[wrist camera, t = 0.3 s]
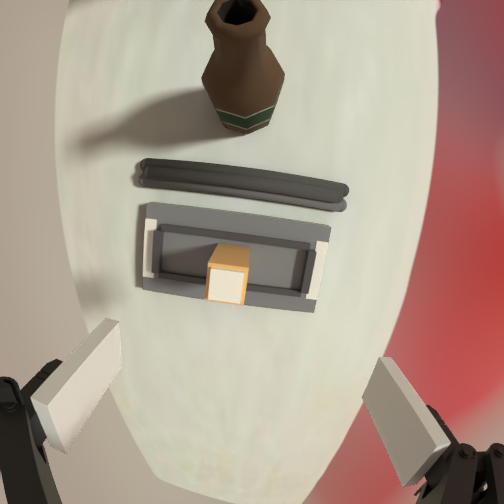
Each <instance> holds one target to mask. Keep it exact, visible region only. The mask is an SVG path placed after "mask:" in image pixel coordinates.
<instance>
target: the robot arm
mask: <svg viewBox="0 0 504 504" xmlns="http://www.w3.org/2000/svg"><path fill="white" fill-rule="evenodd" d="M121 367H122V361H121V346H120V323H119V321H116V320H112V319H108V318H106V319H104V320H103V321H102V322H101V323H100V324H99V325H98V326H97V327H96V328H95V329H94V330H93V331H92V332H91V333H90V334H89V335H88V337H86V339H85V340H84V341H83V342H82V343H81V344H80V345H79V346H78V347H77V348H76V349H75V350H74V351H73V352H72V353H71V354H70V355H69V356H68V357H67V358H66V359H65V360H64V361H60V360H58V359H55V360H53V361H51V362H49V363H47V364H46V365H45V366H44V367H43V368H42V369H41V370H40V371H39V372H38V373H37V374H36V375H35V377H33V378H32V379H31V380H30V381H29V382H28V383H27V384H26V385H25V386H24V387H23V388H22V389H21V390H20V389H19V386H18V383H17V382H16V381H15V380H14V379H12V378H10V377H0V470H1V474H2V479H3V484H4V489H5V494H6V498H7V502H8V504H62V502H61V499H60V496H59V494H58V491H57V488H56V485H55V482H54V479H53V476H52V473H51V470H50V466H49V463H48V459H47V456H46V452H45V448H44V446H43V442H44V441H45V439H46V438H47V440H48V442H49V444H50V446H51V447H53V448H55V449H57V450H59V451H61V452H63V453H65V454H67V452H68V451H69V449H70V447H71V446H72V444H73V442H74V441H75V439H76V437H77V436H78V434H79V432H80V431H81V429H82V427H83V426H84V424H85V423H86V421H87V419H88V418H89V416H90V415H91V413H92V412H93V410H94V408H95V407H96V405H97V404H98V402H99V401H100V399H101V397H102V396H103V394H104V393H105V391H106V389H107V388H108V387H109V385H110V383H111V382H112V380H113V379H114V377H115V376H116V374H117V373H118V371H119V370H120V368H121ZM362 399H363V401H364V403H365V405H366V407H367V409H368V411H369V413H370V416H371V418H372V420H373V422H374V424H375V426H376V429H377V431H378V433H379V435H380V437H381V439H382V442H383V444H384V446H385V448H386V451H387V453H388V455H389V457H390V459H391V462H392V464H393V466H394V468H395V471H396V473H397V475H398V478H399V480H400V482H401V485H402V487H406V486H411V485H415V484H417V483H418V482H419V481H420V480H421V479H422V478H423V477H424V476H425V478H426V480H427V481H426V482H425V483H424V484H423V485H422V486H421V487H420V488H419V490H417V491H416V493H415V494H414V495H415V496H416V495H417V494H418V493H419V492H420V494H419V497H418V499H417V502H416V504H504V445H503V444H499V443H494V444H492V445H491V446H490V447H489V449H488V450H487V451H485V452H476V450H475V449H474V448H473V447H472V446H471V445H468V444H465V443H461V444H459V443H458V441H457V440H456V438H455V437H454V436H453V434H452V433H451V431H450V430H449V428H448V427H447V425H445V423H444V421H443V420H442V419H441V417H440V415H439V414H438V413H437V411H436V410H434V409H433V408H432V407H431V406H429V405H425V404H424V402H423V401H422V400H421V398H420V397H419V395H418V394H417V392H416V391H415V390H414V388H413V387H412V385H411V384H410V383H409V381H408V380H407V379H406V377H405V376H404V374H403V373H402V372H401V370H400V369H399V368H398V366H397V365H396V364H395V362H394V361H393V359H392V358H390V357H379V358H378V361H377V363H376V366H375V368H374V371H373V373H372V375H371V378H370V380H369V382H368V385H367V387H366V389H365V391H364V394H363V396H362ZM486 483H487V489H486V490H485V491H484V488H483V487H484V486H485V484H486Z"/></svg>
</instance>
